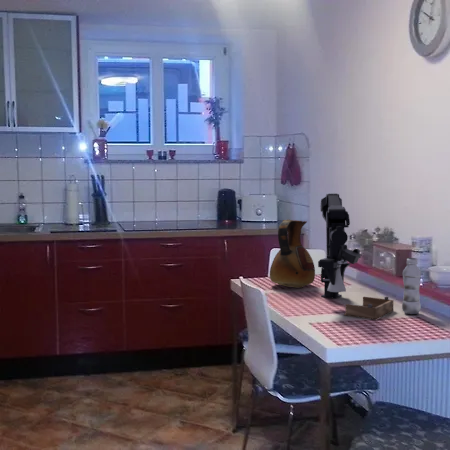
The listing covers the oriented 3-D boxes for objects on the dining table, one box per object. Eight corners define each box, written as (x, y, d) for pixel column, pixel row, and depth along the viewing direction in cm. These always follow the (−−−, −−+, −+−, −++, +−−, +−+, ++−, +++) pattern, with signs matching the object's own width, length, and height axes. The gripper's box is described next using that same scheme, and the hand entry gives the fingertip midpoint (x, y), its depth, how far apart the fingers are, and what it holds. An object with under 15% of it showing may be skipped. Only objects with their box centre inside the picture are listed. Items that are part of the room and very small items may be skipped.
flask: (324, 289, 239) (324, 263, 238) (343, 288, 240) (343, 262, 239) (329, 293, 232) (329, 266, 231) (348, 292, 232) (348, 265, 231)
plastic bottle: (420, 312, 229) (421, 257, 227) (420, 316, 223) (421, 260, 221) (402, 311, 231) (403, 257, 229) (401, 315, 225) (402, 259, 223)
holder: (362, 306, 239) (363, 293, 239) (393, 310, 232) (393, 297, 232) (344, 315, 226) (344, 301, 225) (375, 319, 219) (376, 305, 218)
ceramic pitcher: (322, 284, 283) (322, 218, 280) (302, 292, 266) (302, 222, 263) (283, 281, 293) (282, 216, 290) (262, 288, 276) (261, 220, 273)
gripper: (345, 246, 222) (345, 290, 223) (367, 240, 237) (367, 281, 238) (317, 244, 228) (317, 286, 230) (340, 239, 243) (340, 279, 245)
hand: (336, 283), depth 235 cm, fingers closed on flask, 5 cm apart
